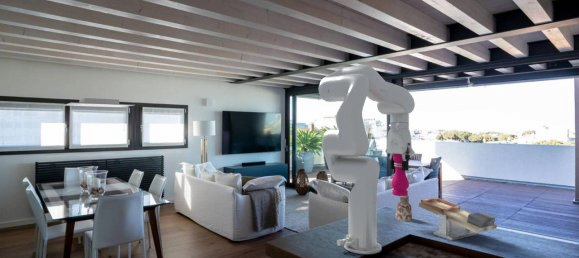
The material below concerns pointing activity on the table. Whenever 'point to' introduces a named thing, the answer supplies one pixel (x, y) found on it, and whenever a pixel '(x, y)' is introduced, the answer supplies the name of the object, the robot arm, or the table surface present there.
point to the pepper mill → (399, 177)
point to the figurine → (404, 209)
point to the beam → (459, 215)
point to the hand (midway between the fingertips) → (399, 169)
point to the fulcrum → (452, 229)
